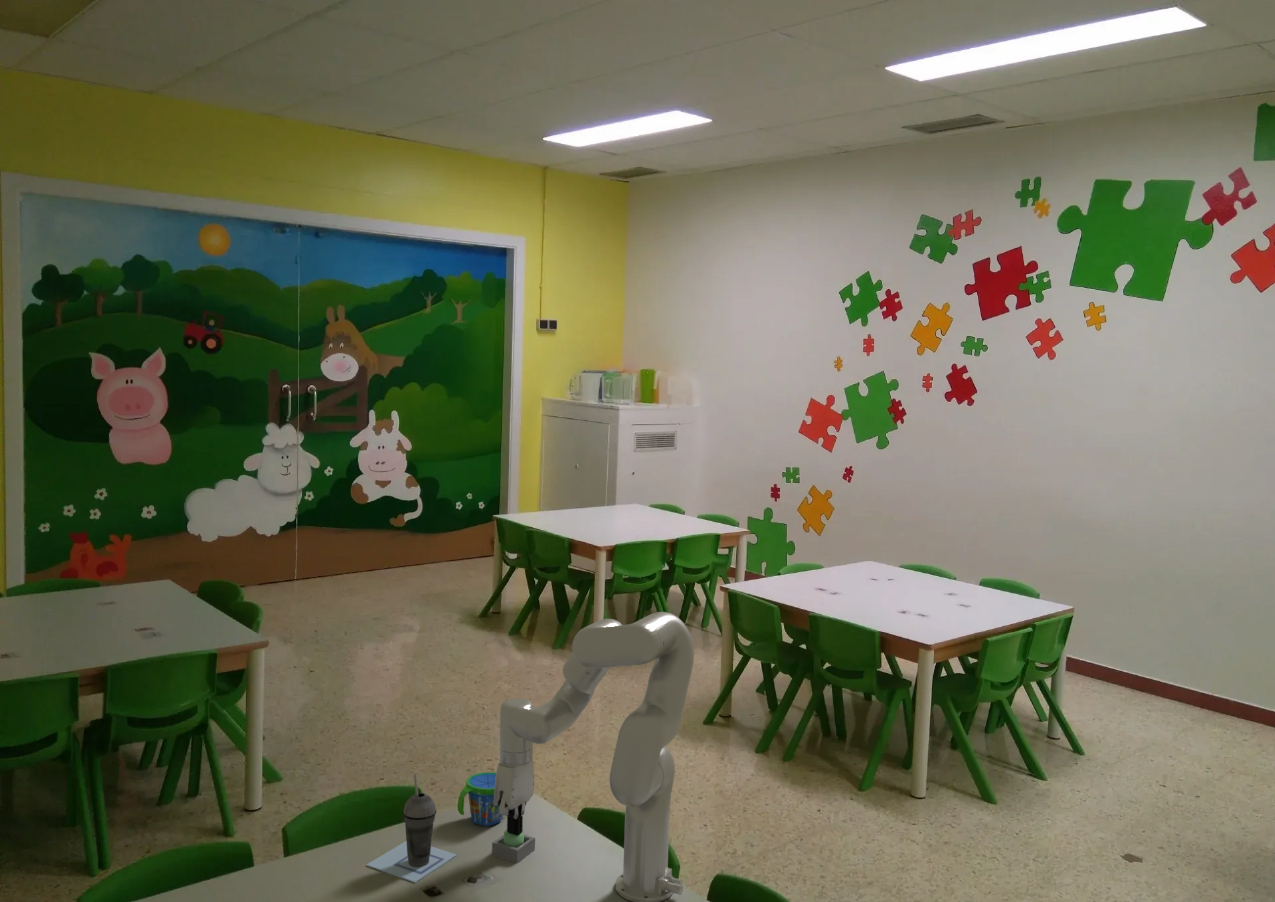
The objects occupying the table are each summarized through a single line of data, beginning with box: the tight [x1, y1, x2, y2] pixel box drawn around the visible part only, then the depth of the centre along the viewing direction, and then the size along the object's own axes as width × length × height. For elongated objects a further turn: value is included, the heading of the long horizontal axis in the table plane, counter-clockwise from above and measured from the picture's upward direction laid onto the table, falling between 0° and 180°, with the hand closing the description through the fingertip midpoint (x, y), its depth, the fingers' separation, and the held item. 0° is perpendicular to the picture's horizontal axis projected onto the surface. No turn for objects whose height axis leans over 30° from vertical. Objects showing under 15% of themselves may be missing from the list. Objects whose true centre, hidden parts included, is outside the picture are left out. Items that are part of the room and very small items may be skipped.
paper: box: [365, 840, 458, 884], centre depth 220 cm, size 14×14×1 cm
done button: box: [503, 829, 525, 848], centre depth 225 cm, size 5×5×4 cm
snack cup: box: [456, 771, 504, 827], centre depth 240 cm, size 16×10×10 cm
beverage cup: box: [402, 774, 437, 867], centre depth 218 cm, size 7×7×20 cm
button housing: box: [491, 834, 536, 864], centre depth 225 cm, size 7×7×3 cm
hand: (514, 832), depth 224 cm, fingers closed
